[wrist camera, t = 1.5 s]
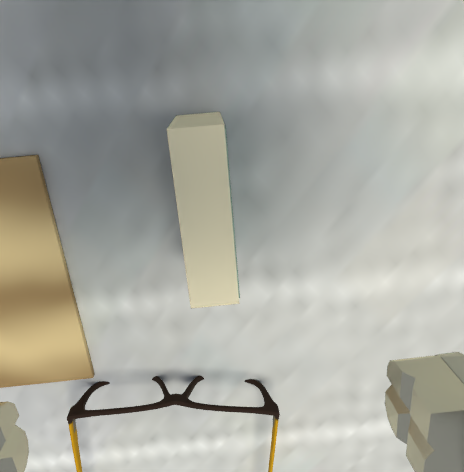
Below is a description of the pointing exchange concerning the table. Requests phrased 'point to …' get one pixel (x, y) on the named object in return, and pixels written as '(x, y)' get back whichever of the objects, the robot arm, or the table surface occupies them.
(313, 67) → the table surface
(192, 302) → the card box
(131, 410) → the eyeglasses
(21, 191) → the mat
